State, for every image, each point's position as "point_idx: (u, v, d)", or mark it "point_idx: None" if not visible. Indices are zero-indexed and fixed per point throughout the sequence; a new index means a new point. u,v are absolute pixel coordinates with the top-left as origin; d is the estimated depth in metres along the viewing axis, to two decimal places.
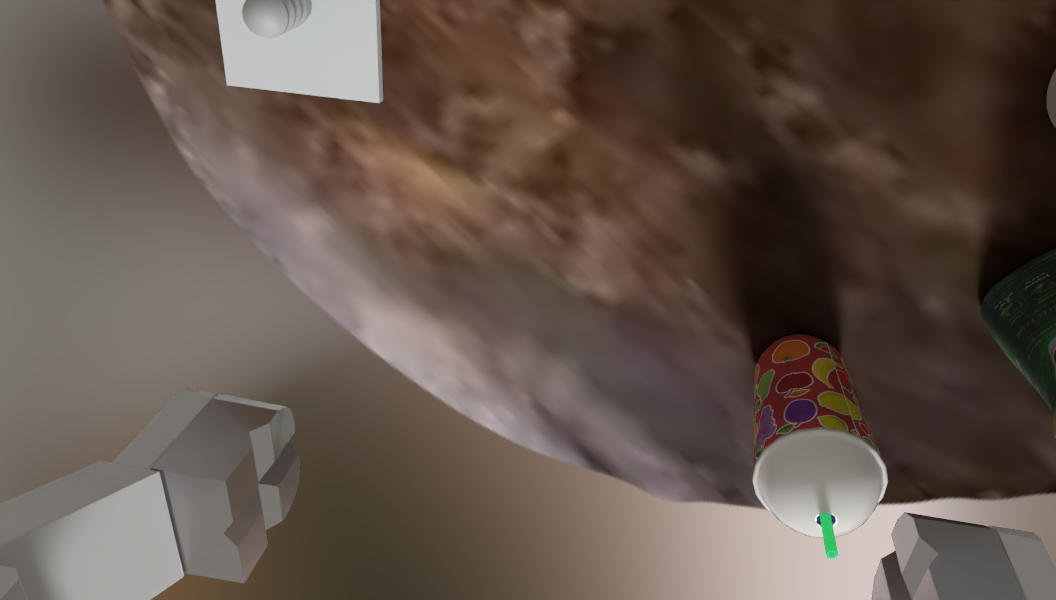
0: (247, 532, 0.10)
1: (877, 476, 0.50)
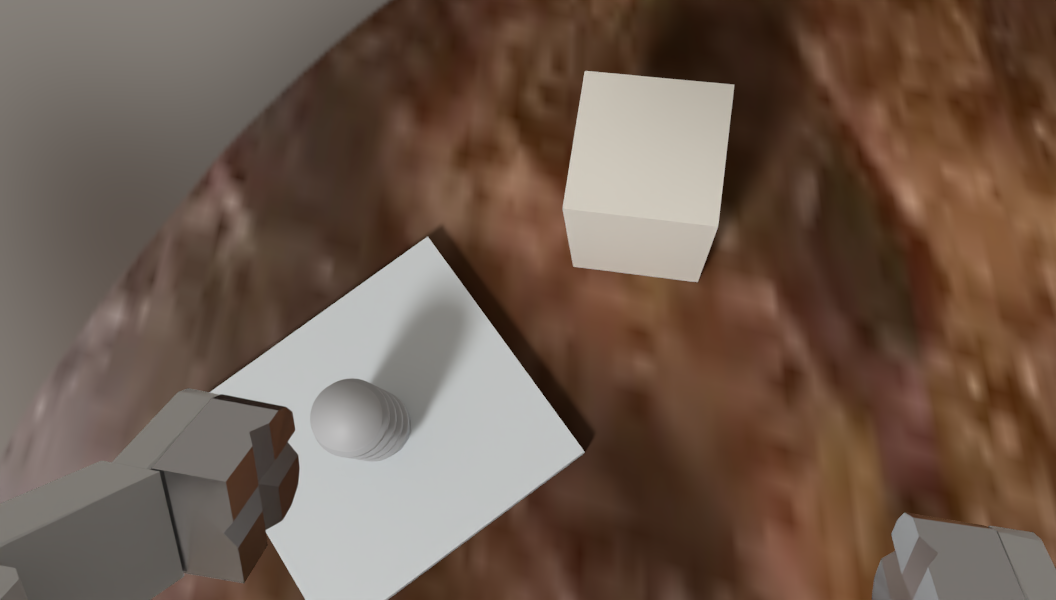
0: (247, 532, 0.10)
1: None
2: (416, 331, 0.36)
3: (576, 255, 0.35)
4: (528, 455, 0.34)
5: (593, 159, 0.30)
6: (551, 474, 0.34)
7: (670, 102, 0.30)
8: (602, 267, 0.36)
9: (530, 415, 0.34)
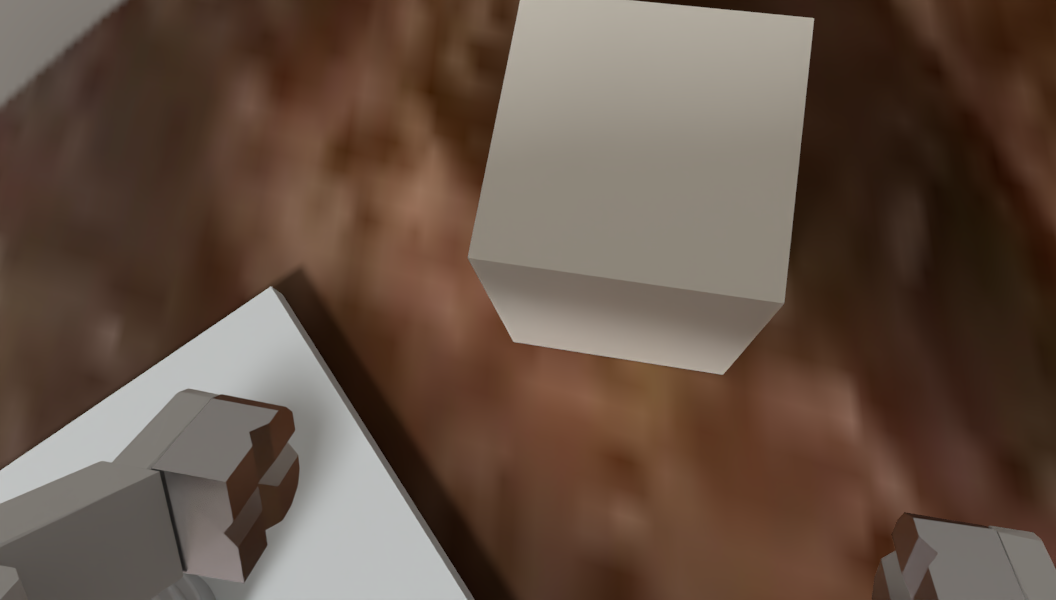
0: (247, 532, 0.10)
1: None
2: None
3: (514, 328, 0.20)
4: None
5: (533, 160, 0.15)
6: None
7: (687, 51, 0.15)
8: (561, 346, 0.21)
9: None
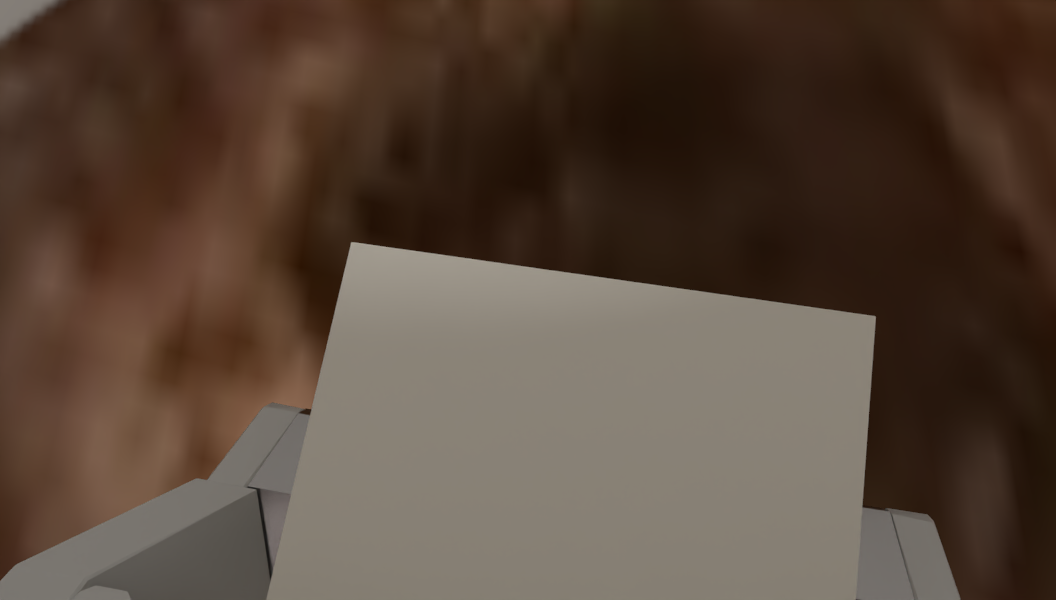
0: None
1: None
2: None
3: None
4: None
5: (352, 591, 0.08)
6: None
7: (642, 374, 0.08)
8: None
9: None
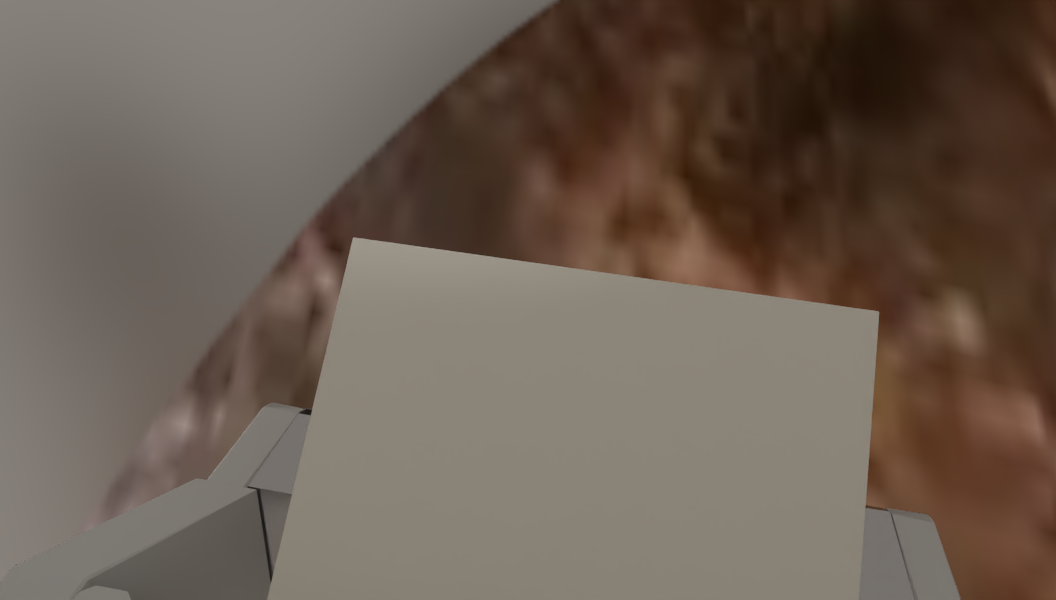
0: None
1: None
2: None
3: None
4: None
5: (354, 587, 0.08)
6: None
7: (645, 370, 0.08)
8: None
9: None
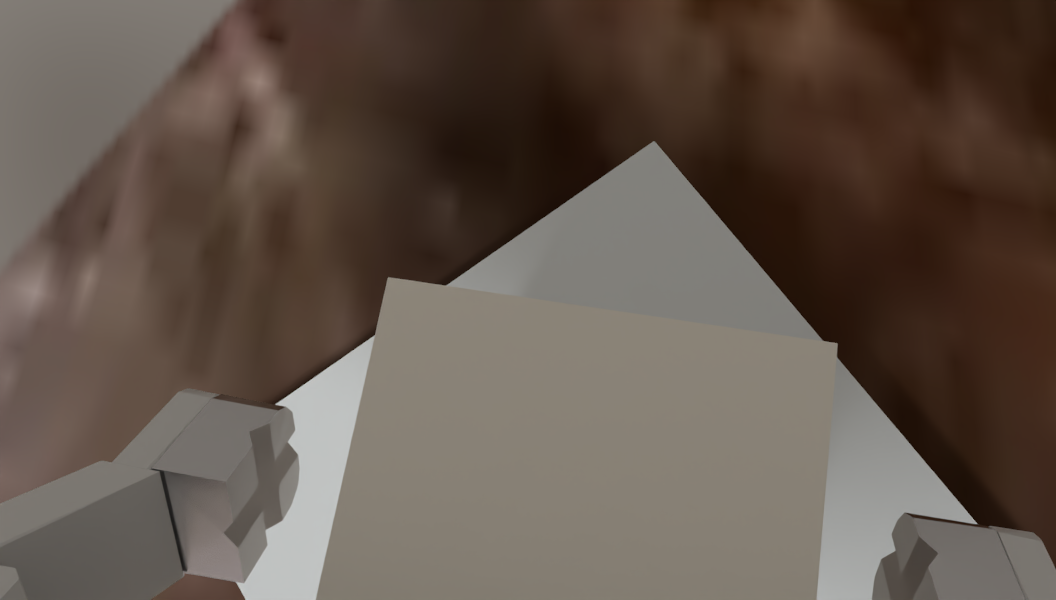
0: (247, 532, 0.10)
1: None
2: None
3: None
4: None
5: (392, 577, 0.09)
6: None
7: (638, 393, 0.10)
8: None
9: (905, 510, 0.16)
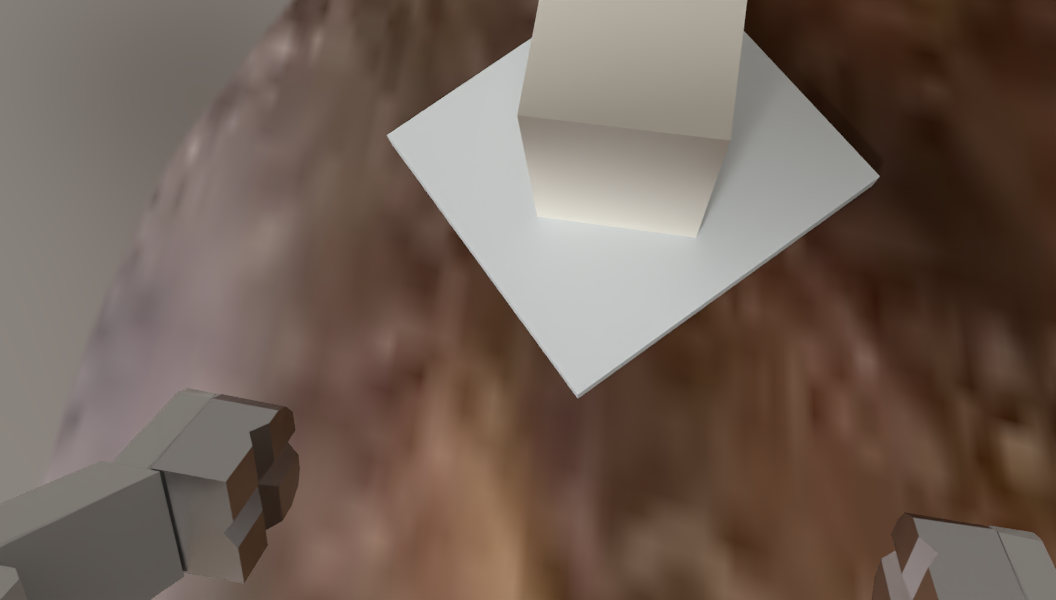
0: (247, 532, 0.10)
1: None
2: None
3: (540, 198, 0.27)
4: (811, 182, 0.28)
5: (560, 51, 0.22)
6: (841, 202, 0.28)
7: None
8: (574, 217, 0.28)
9: (809, 138, 0.29)
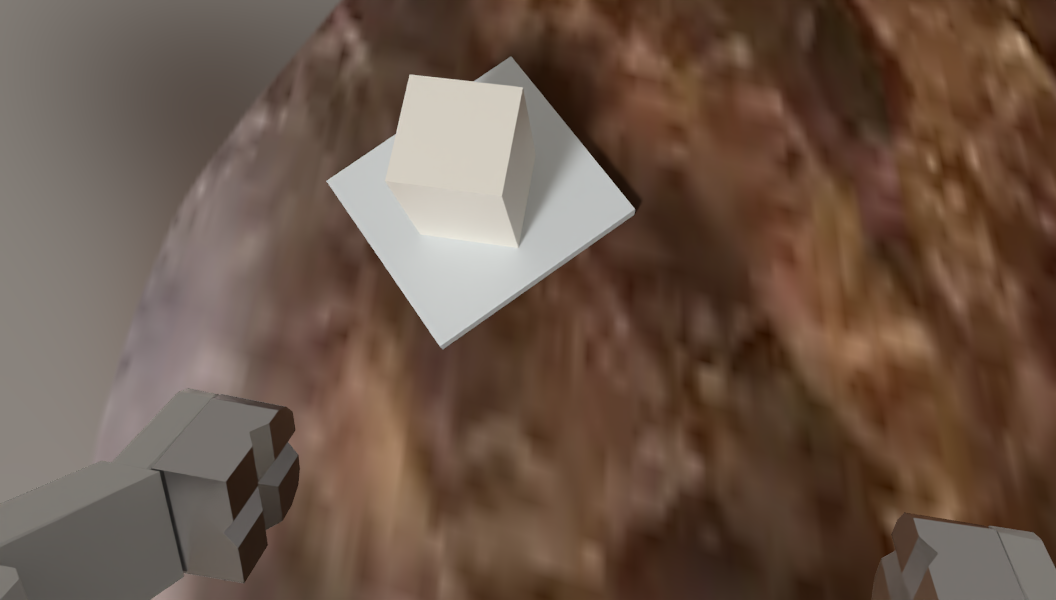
0: (247, 532, 0.10)
1: None
2: None
3: (416, 223, 0.43)
4: (592, 213, 0.44)
5: (411, 143, 0.38)
6: (609, 225, 0.44)
7: (473, 100, 0.38)
8: (441, 235, 0.44)
9: (593, 184, 0.45)
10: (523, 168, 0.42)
